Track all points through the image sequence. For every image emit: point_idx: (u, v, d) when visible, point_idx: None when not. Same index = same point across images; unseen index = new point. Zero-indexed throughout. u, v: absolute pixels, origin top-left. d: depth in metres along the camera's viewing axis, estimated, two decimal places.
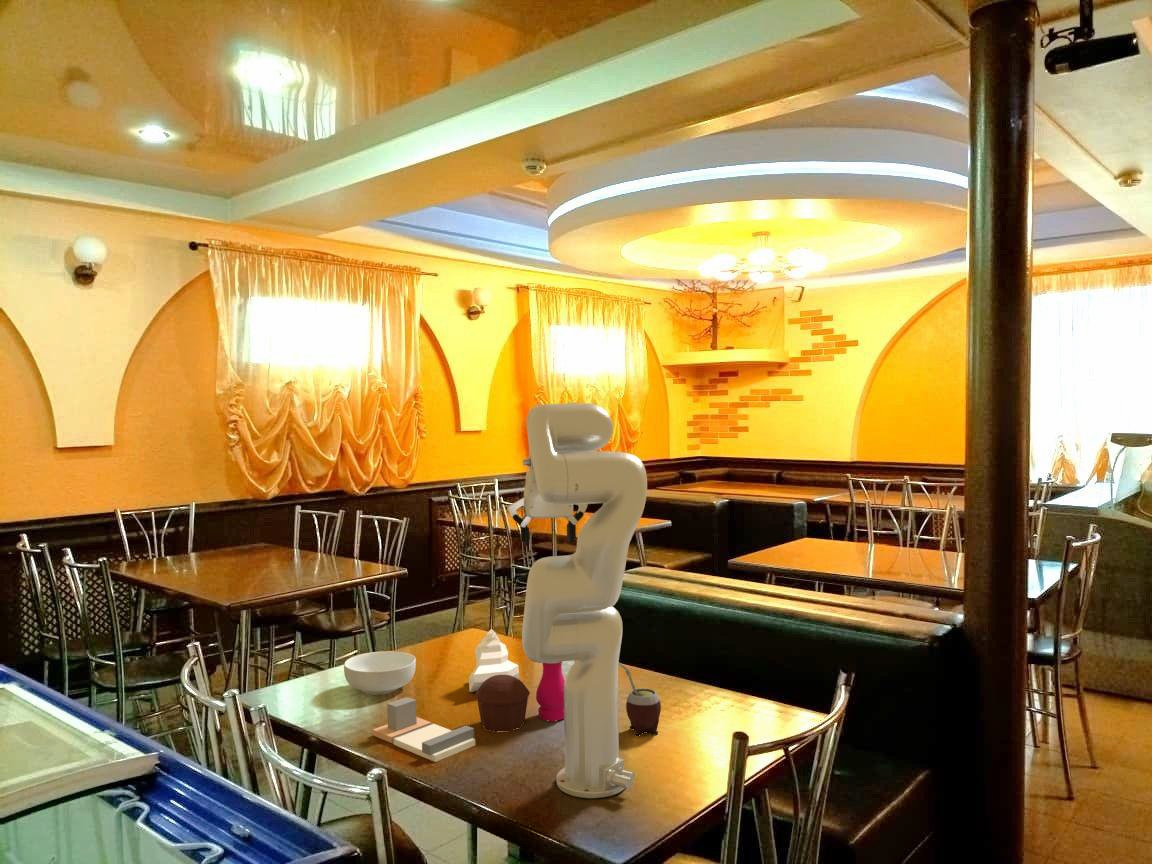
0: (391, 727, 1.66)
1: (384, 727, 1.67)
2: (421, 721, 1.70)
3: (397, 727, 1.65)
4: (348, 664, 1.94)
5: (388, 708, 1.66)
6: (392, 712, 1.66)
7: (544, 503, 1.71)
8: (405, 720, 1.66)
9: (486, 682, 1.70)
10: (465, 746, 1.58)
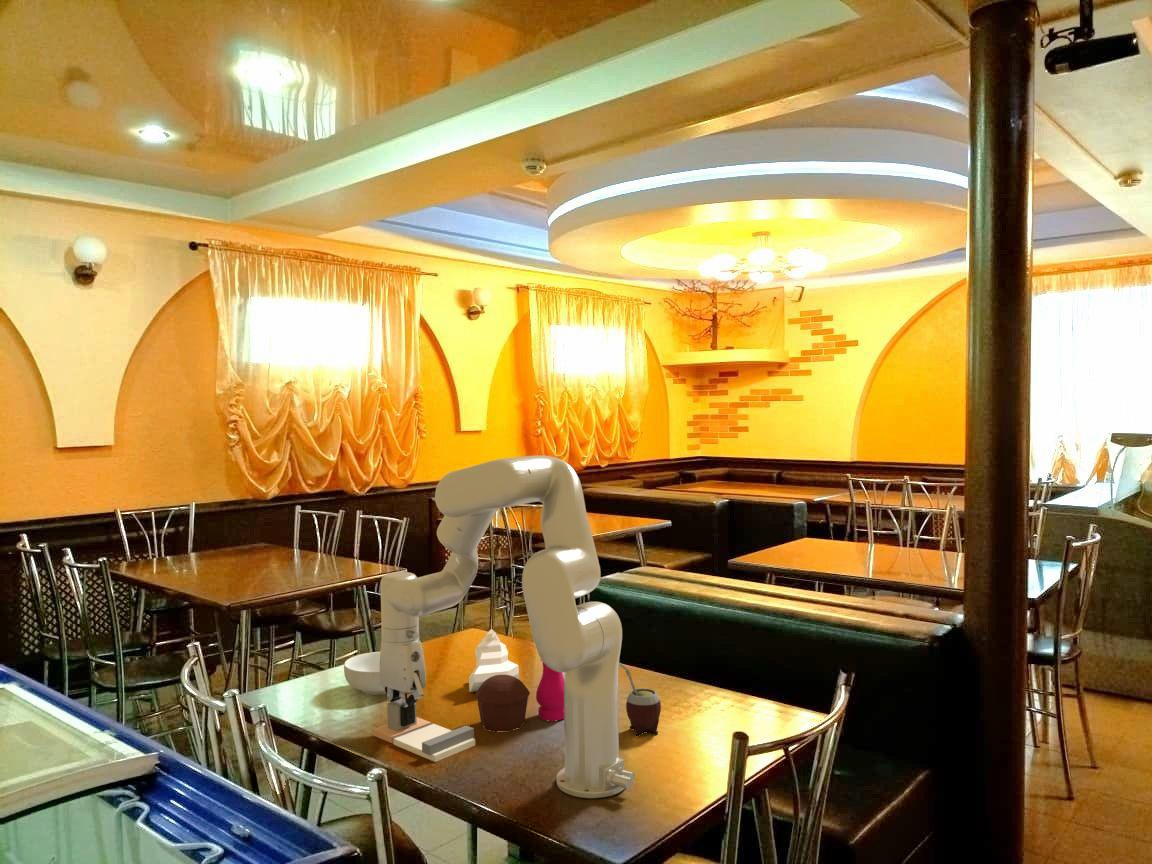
0: (391, 727, 1.66)
1: (384, 727, 1.67)
2: (421, 721, 1.70)
3: (397, 727, 1.65)
4: (348, 664, 1.94)
5: (388, 708, 1.66)
6: (392, 712, 1.66)
7: None
8: None
9: (486, 682, 1.70)
10: (465, 746, 1.58)
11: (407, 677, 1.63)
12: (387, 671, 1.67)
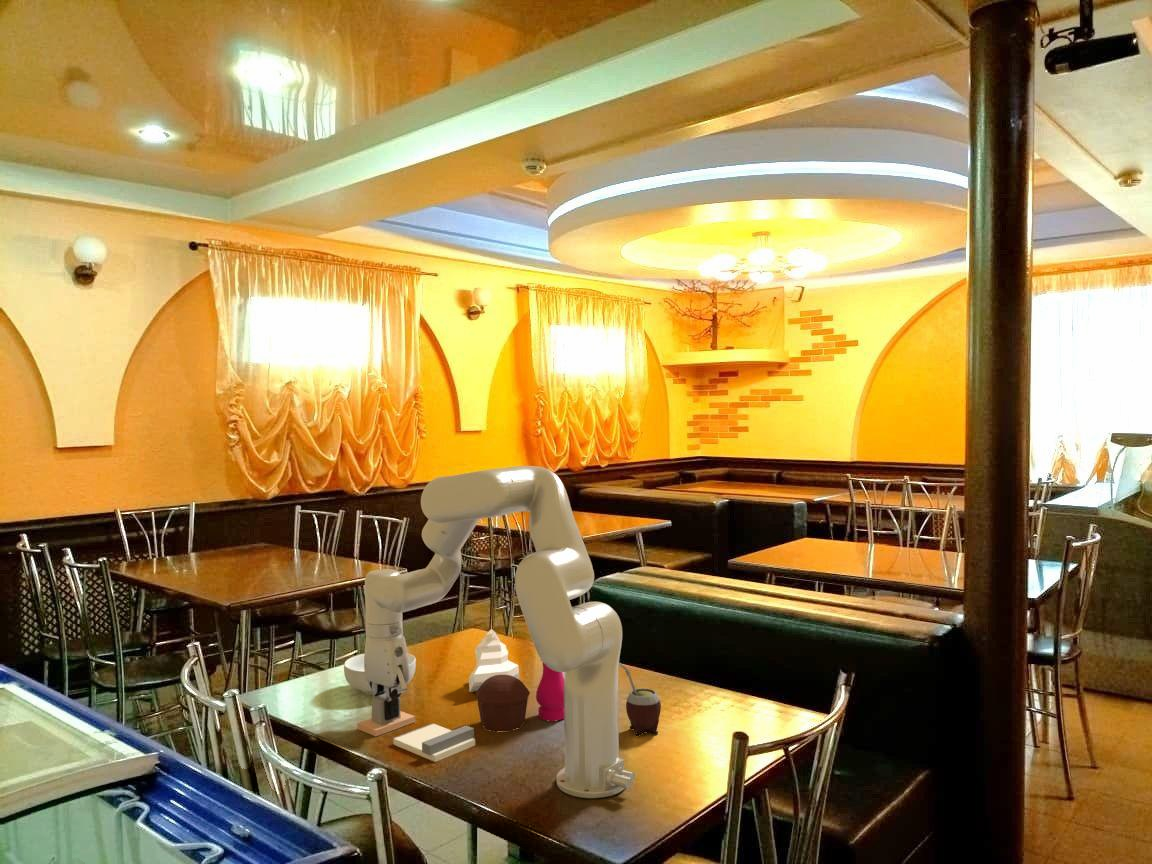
0: (375, 721, 1.69)
1: (368, 721, 1.71)
2: (405, 715, 1.73)
3: (381, 720, 1.68)
4: (348, 664, 1.94)
5: (372, 702, 1.70)
6: (376, 706, 1.69)
7: None
8: None
9: (486, 682, 1.70)
10: (465, 746, 1.58)
11: (391, 672, 1.66)
12: (371, 666, 1.70)
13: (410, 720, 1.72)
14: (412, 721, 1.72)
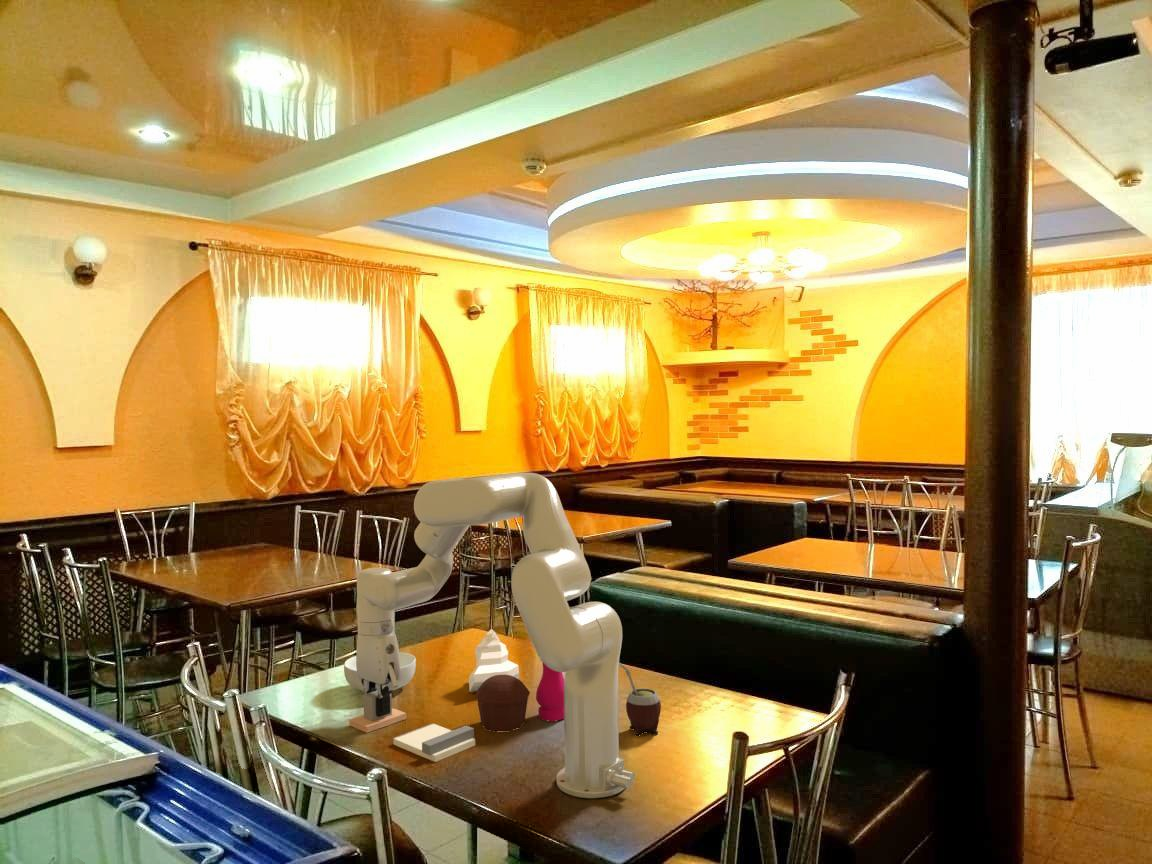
0: (367, 717, 1.71)
1: (360, 717, 1.72)
2: (396, 712, 1.75)
3: (373, 717, 1.70)
4: (348, 664, 1.94)
5: (364, 699, 1.72)
6: (368, 703, 1.71)
7: None
8: None
9: (486, 682, 1.70)
10: (465, 746, 1.58)
11: (382, 669, 1.68)
12: (363, 663, 1.72)
13: (401, 717, 1.74)
14: (403, 718, 1.74)
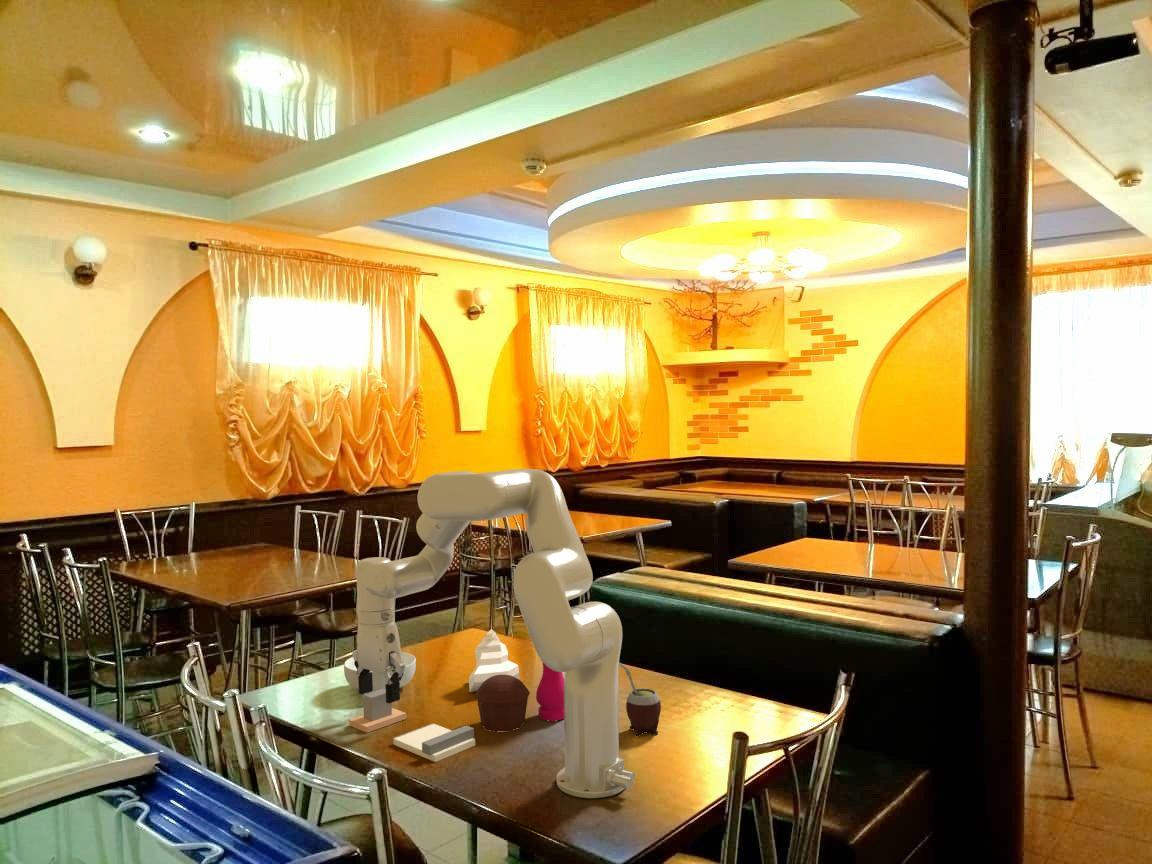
0: (367, 717, 1.71)
1: (360, 717, 1.73)
2: (396, 712, 1.75)
3: (372, 717, 1.70)
4: (348, 664, 1.94)
5: (364, 699, 1.72)
6: (368, 703, 1.71)
7: None
8: (381, 710, 1.72)
9: (486, 682, 1.70)
10: (465, 746, 1.58)
11: (383, 658, 1.68)
12: (364, 653, 1.72)
13: (401, 717, 1.74)
14: (403, 718, 1.74)
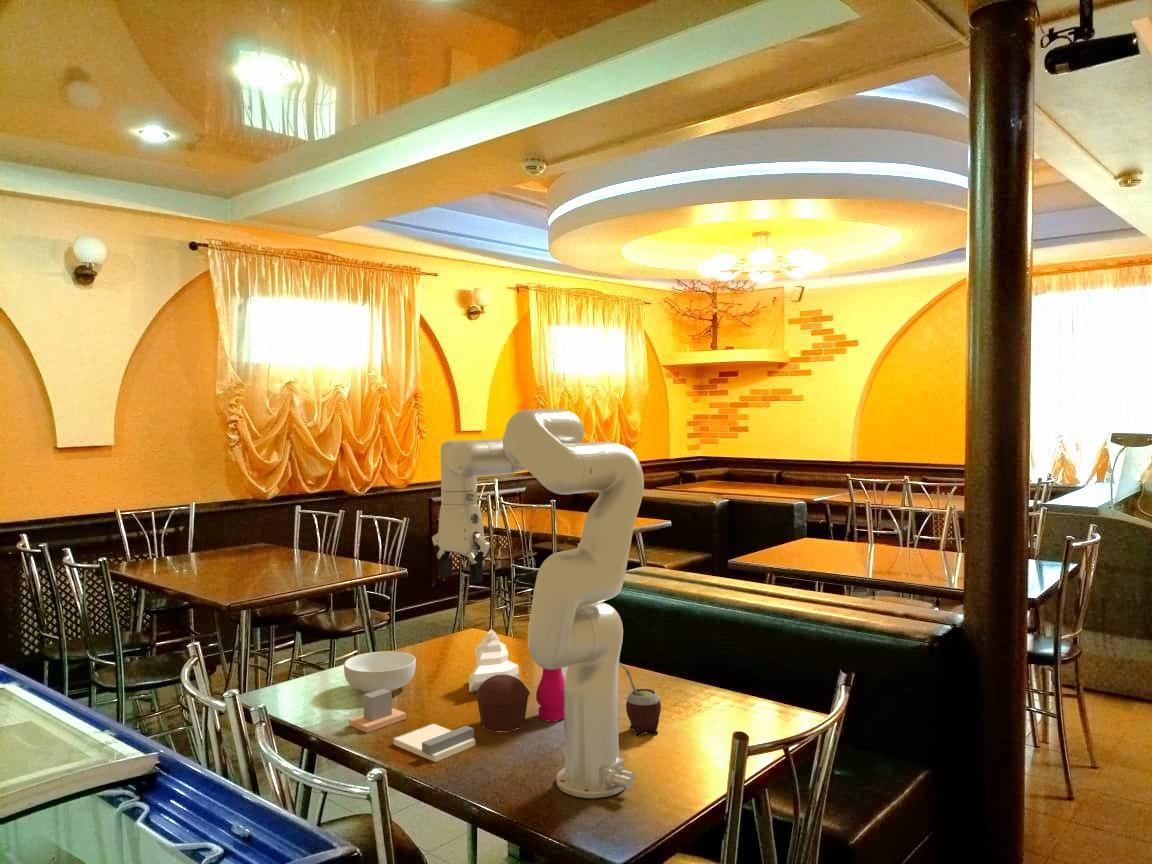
0: (367, 717, 1.71)
1: (360, 717, 1.73)
2: (396, 712, 1.75)
3: (372, 717, 1.70)
4: (348, 664, 1.94)
5: (364, 699, 1.72)
6: (368, 703, 1.71)
7: None
8: (381, 710, 1.72)
9: (486, 682, 1.70)
10: (465, 746, 1.58)
11: (467, 537, 1.68)
12: (447, 535, 1.72)
13: (401, 717, 1.74)
14: (403, 718, 1.74)
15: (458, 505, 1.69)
